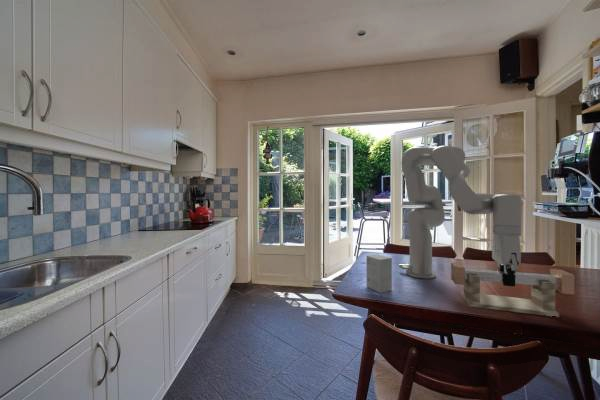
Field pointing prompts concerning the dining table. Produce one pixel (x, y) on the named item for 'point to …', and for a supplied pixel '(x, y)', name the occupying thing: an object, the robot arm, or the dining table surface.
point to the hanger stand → (513, 299)
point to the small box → (379, 273)
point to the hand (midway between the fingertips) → (506, 283)
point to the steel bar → (516, 277)
